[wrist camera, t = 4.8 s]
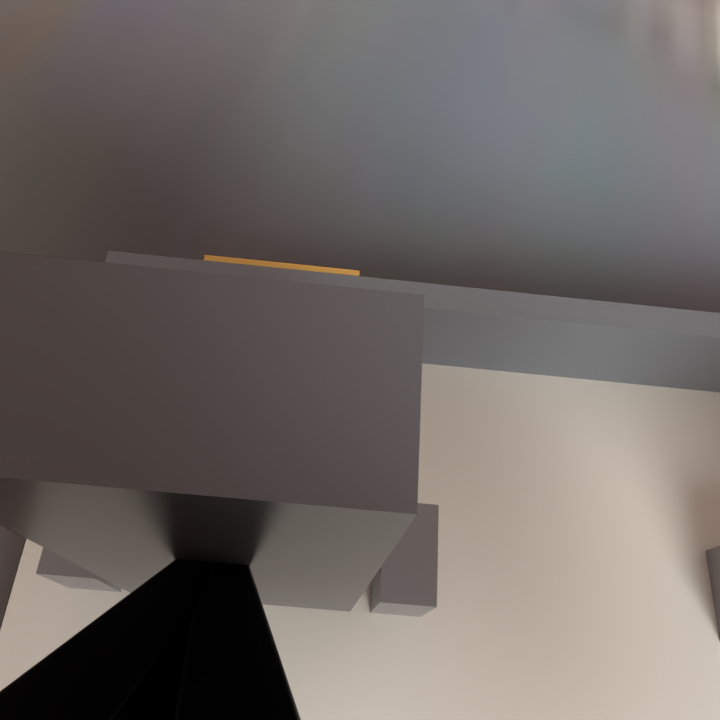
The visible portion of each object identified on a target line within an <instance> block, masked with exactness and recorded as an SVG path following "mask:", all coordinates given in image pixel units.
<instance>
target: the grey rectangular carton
mask: <svg viewBox="0 0 720 720" xmlns="http://www.w3.org/2000/svg"><path fill="white" fill-rule="evenodd" d="M423 320H424V295H423V294H413V293H403V292H393V291H383V290H373V289H364V288H354V287H344V286H334V285H324V284H314V283H305V282H295V281H285V280H275V279H265V278H255V277H246V276H236V275H226V274H216V273H206V272H196V271H187V270H177V269H167V268H157V267H147V266H137V265H128V264H118V263H108V262H98V261H88V260H78V259H69V258H59V257H49V256H39V255H29V254H19V253H10V252H0V525H2V526H4V527H6V528H7V529H9V530H11V531H13V532H15V533H17V534H19V535H21V536H23V537H25V538H27V539H28V540H30V541H32V542H34V543H36V544H38V545H40V546H42V547H44V548H46V549H48V550H50V551H51V552H53V553H55V554H57V555H59V556H61V557H63V558H65V559H67V560H69V561H71V562H73V563H74V564H76V565H78V566H80V567H82V568H84V569H86V570H88V571H90V572H92V573H94V574H96V575H97V576H99V577H101V578H103V579H105V580H107V581H109V582H111V583H113V584H115V585H117V586H119V587H120V588H122V589H124V590H126V591H128V592H130V593H131V592H133V591H134V590H135V589H137V588H138V587H139V586H141V585H142V584H143V583H144V582H146V581H147V580H148V579H150V578H151V577H152V576H154V575H155V574H156V573H158V572H159V571H160V570H162V569H163V568H164V567H166V566H167V565H168V564H170V563H171V562H172V561H174V560H175V559H181V560H193V561H204V562H210V563H212V564H213V563H228V564H240V565H248V566H250V569H251V572H252V575H253V578H254V581H255V584H256V587H257V590H258V593H259V596H260V599H261V602H262V604H264V605H276V606H288V607H300V608H312V609H324V610H336V611H349V612H350V611H351V610H352V608H353V607H354V606H355V604H356V603H357V601H358V600H359V598H360V597H361V595H362V594H363V592H364V591H365V590H366V588H367V587H368V585H369V584H370V582H371V581H372V579H373V578H374V576H375V575H376V574H377V572H378V571H379V569H380V568H381V566H382V565H383V563H384V562H385V560H386V559H387V558H388V556H389V555H390V553H391V552H392V550H393V549H394V547H395V546H396V544H397V543H398V542H399V540H400V539H401V537H402V536H403V534H404V533H405V531H406V530H407V528H408V527H409V526H410V524H411V523H412V521H413V520H414V518H415V517H416V515H417V503H418V473H419V442H420V412H421V381H422V351H423Z"/></svg>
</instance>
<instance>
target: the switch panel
mask: <svg viewBox="0 0 720 720" xmlns="http://www.w3.org/2000/svg"><path fill="white" fill-rule="evenodd" d="M105 262H108V263H118V264H128V265H137V266H147V267H157V268H167V269H177V270H187V271H196V272H206V273H216V274H226V275H236V276H246V277H255V278H265V279H275V280H285V281H295V282H305V283H314V284H324V285H334V286H344V287H354V288H364V289H373V290H383V291H393V292H403V293H413V294H423V295H424V320H423V351H422V381H421V412H420V442H419V473H418V503H417V515H416V517H415V518H414V520H413V521H412V523H411V524H410V526H409V527H408V528H407V530H406V531H405V533H404V534H403V536H402V537H401V539H400V540H399V542H398V543H397V544H396V546H395V547H394V549H393V550H392V552H391V553H390V555H389V556H388V558H387V559H386V560H385V562H384V563H383V565H382V566H381V568H380V569H379V571H378V572H377V574H376V575H375V576H374V578H373V579H372V581H371V582H370V584H369V585H368V587H367V588H366V590H365V591H364V592H363V594H362V595H361V597H360V598H359V600H358V601H357V603H356V604H355V606H354V607H353V608H352V610H351V611H350V612H349V611H336V610H324V609H312V608H300V607H288V606H276V605H264V604H262V605H263V608H264V611H265V614H266V617H267V620H268V623H269V626H270V629H271V632H272V635H273V638H274V641H275V644H276V647H277V650H278V653H279V656H280V659H281V662H282V665H283V668H284V671H285V674H286V677H287V680H288V683H289V686H290V689H291V692H292V695H293V698H294V701H295V704H296V707H297V710H298V713H299V715H300V718H301V720H720V313H715V312H705V311H695V310H685V309H676V308H666V307H656V306H646V305H637V304H627V303H617V302H607V301H598V300H588V299H578V298H568V297H558V296H549V295H539V294H529V293H519V292H510V291H500V290H490V289H480V288H471V287H461V286H451V285H441V284H432V283H422V282H412V281H402V280H392V279H383V278H373V277H363V276H359V272H360V271H358V270H348V269H338V268H329V267H319V266H309V265H299V264H290V263H280V262H270V261H261V260H251V259H241V258H231V257H222V256H212V255H205V257H204V260H197V259H187V258H178V257H168V256H158V255H148V254H139V253H129V252H119V251H109V250H108V253H107V256H106V259H105ZM129 594H130V592H128V591H126V590H124V589H122V588H120V587H119V586H117V585H115V584H113V583H111V582H109V581H107V580H105V579H103V578H101V577H99V576H97V575H96V574H94V573H92V572H90V571H88V570H86V569H84V568H82V567H80V566H78V565H76V564H74V563H73V562H71V561H69V560H67V559H65V558H63V557H61V556H59V555H57V554H55V553H53V552H51V551H50V550H48V549H46V548H44V547H42V546H40V545H38V544H36V543H34V542H32V541H30V540H28V539H26V543H25V546H24V550H23V553H22V556H21V560H20V563H19V567H18V570H17V574H16V577H15V581H14V584H13V588H12V591H11V595H10V598H9V602H8V605H7V609H6V612H5V616H4V619H3V623H2V626H1V630H0V691H1V690H2V689H4V688H5V687H6V686H8V685H9V684H10V683H12V682H13V681H14V680H16V679H17V678H18V677H20V676H21V675H22V674H24V673H25V672H26V671H28V670H29V669H30V668H32V667H33V666H34V665H36V664H37V663H38V662H40V661H41V660H42V659H43V658H45V657H46V656H47V655H49V654H50V653H51V652H53V651H54V650H55V649H57V648H58V647H59V646H61V645H62V644H63V643H65V642H66V641H67V640H69V639H70V638H71V637H73V636H74V635H75V634H77V633H78V632H79V631H81V630H82V629H83V628H85V627H86V626H87V625H89V624H90V623H91V622H93V621H94V620H95V619H97V618H98V617H99V616H101V615H102V614H103V613H105V612H106V611H107V610H109V609H110V608H111V607H113V606H114V605H115V604H117V603H118V602H119V601H121V600H122V599H123V598H125V597H126V596H127V595H129Z"/></svg>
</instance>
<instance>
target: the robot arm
mask: <svg viewBox="0 0 720 720" xmlns="http://www.w3.org/2000/svg"><path fill="white" fill-rule="evenodd" d="M0 720H301V718H300V715H299V713H298V710H297V707H296V704H295V701H294V698H293V695H292V692H291V689H290V686H289V683H288V680H287V677H286V674H285V671H284V668H283V665H282V662H281V659H280V656H279V653H278V650H277V647H276V644H275V641H274V638H273V635H272V632H271V629H270V626H269V623H268V620H267V617H266V614H265V611H264V608H263V605H262V602H261V599H260V596H259V593H258V590H257V587H256V584H255V581H254V578H253V575H252V572H251V569H250V566H248V565H240V564H228V563H213V564H212V563H210V562H204V561H193V560H181V559H175V560H174V561H172V562H171V563H170V564H168V565H167V566H166V567H164V568H163V569H162V570H160V571H159V572H158V573H156V574H155V575H154V576H152V577H151V578H150V579H148V580H147V581H146V582H144V583H143V584H142V585H141V586H139V587H138V588H137V589H135V590H134V591H133V592H131V593H130V594H129V595H127V596H126V597H125V598H123V599H122V600H121V601H119V602H118V603H117V604H115V605H114V606H113V607H111V608H110V609H109V610H107V611H106V612H105V613H103V614H102V615H101V616H99V617H98V618H97V619H95V620H94V621H93V622H91V623H90V624H89V625H87V626H86V627H85V628H83V629H82V630H81V631H79V632H78V633H77V634H75V635H74V636H73V637H71V638H70V639H69V640H67V641H66V642H65V643H63V644H62V645H61V646H59V647H58V648H57V649H55V650H54V651H53V652H51V653H50V654H49V655H47V656H46V657H45V658H43V659H42V660H41V661H40V662H38V663H37V664H36V665H34V666H33V667H32V668H30V669H29V670H28V671H26V672H25V673H24V674H22V675H21V676H20V677H18V678H17V679H16V680H14V681H13V682H12V683H10V684H9V685H8V686H6V687H5V688H4V689H2V690H1V691H0Z"/></svg>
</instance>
